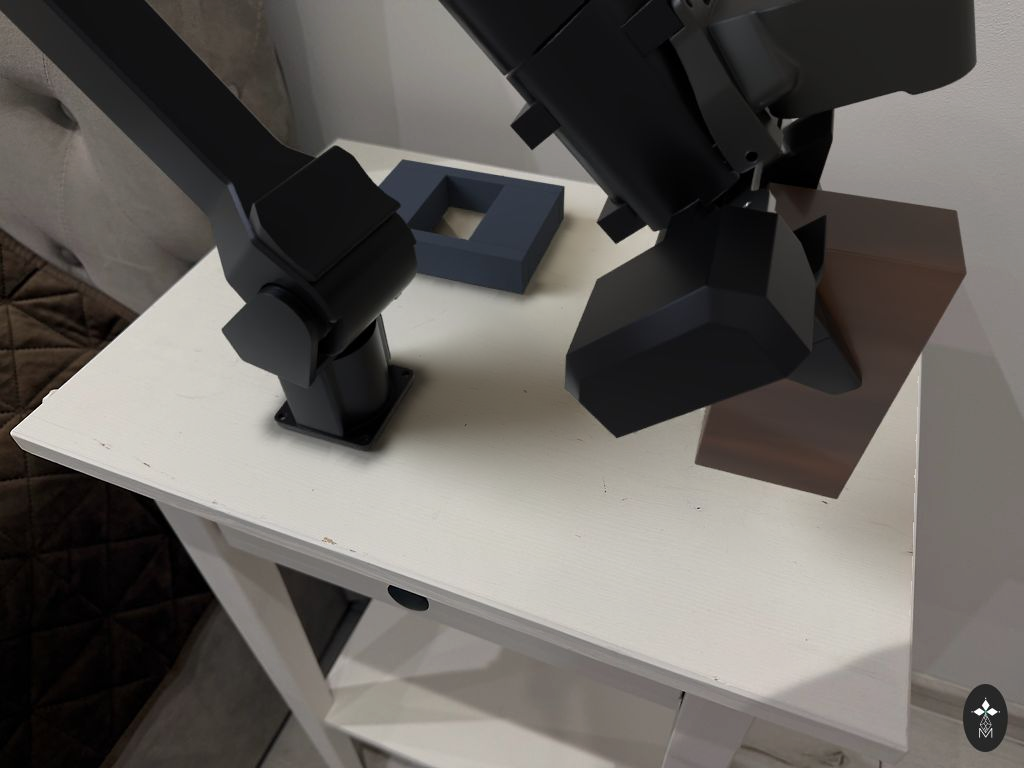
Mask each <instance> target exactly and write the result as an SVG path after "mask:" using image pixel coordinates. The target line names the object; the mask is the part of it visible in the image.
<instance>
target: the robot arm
mask: <svg viewBox="0 0 1024 768" xmlns="http://www.w3.org/2000/svg"><path fill="white" fill-rule="evenodd" d="M437 1H438V2H439V3H440V4H441V6H442V7H443V8H444V9H445V10H446V11H447V12H448V13H449V14H450V16H451V17H452V18H453V20H455V21H456V23H457V24H458V25H459V26H460V27H461V29H463V31H464V32H465V33H466V34H467V36H469V38H470V39H471V40H472V41H473V42H474V44H475V45H476V46H477V47H478V48H479V49H480V50H481V51H482V53H483V54H484V55H485V56H486V57H487V59H489V61H490V62H491V63H492V64H493V65H494V66H495V68H496V69H497V70H498V72H500V74H502V76H504V77H505V76H506V77H505V79H506V80H507V81H508V83H509V84H510V85H511V86H512V87H513V88H514V89H515V91H516V92H517V93H518V94H519V96H520V97H521V98H522V99H523V100H524V101H525V103H524V105H523V106H522V108H521V109H520V111H519V112H518V113H517V115H516V117H515V118H514V119H513V121H512V122H511V123H510V125H509V127H510V128H511V129H512V130H513V132H515V133H516V135H517V136H518V137H519V138H520V139H521V140H522V141H523V143H524V144H525V145H526V146H527V147H528V148H529V149H530V151H534V150H535V149H536V148H537V147H538V146H540V145H541V144H542V143H543V142H545V141H546V140H547V139H548V138H550V136H552V135H554V136H555V137H556V138H557V140H559V142H560V143H561V144H562V145H563V146H564V147H565V148H566V150H567V151H568V152H569V153H570V154H571V155H572V157H574V159H575V160H576V161H577V162H578V163H579V165H580V166H581V167H582V168H583V169H584V170H585V171H586V173H587V174H588V175H589V176H590V177H591V179H592V180H593V181H594V182H595V183H596V184H597V185H598V186H599V187H600V189H601V190H602V191H603V193H604V194H605V195H606V196H607V198H606V200H605V202H604V205H603V207H602V209H601V211H600V213H599V216H598V218H597V220H596V224H597V225H598V226H599V228H600V229H601V230H602V231H603V232H604V234H606V235H607V237H609V239H610V240H611V241H612V242H613V243H614V244H615V245H617V244H619V243H621V242H622V241H624V240H625V239H627V238H629V237H631V236H632V235H634V234H635V233H637V232H638V231H640V230H642V229H643V228H645V227H648V228H649V229H650V230H651V231H652V232H654V233H655V232H656V233H657V232H658V235H657V236H656V240H655V244H654V245H653V246H652V247H650V248H648V249H646V250H644V251H643V252H641V253H639V254H637V255H636V256H634V257H632V258H631V259H629V260H627V261H626V262H624V263H622V264H620V265H619V266H617V267H615V268H613V269H612V270H610V271H608V272H606V273H605V274H602V276H600V277H598V278H596V280H595V283H594V284H593V287H592V290H591V292H590V294H589V298H588V299H587V303H586V304H585V308H584V310H583V312H582V314H581V317H580V319H579V322H578V325H577V327H576V329H575V332H574V335H573V337H572V339H571V342H570V344H569V346H568V349H567V351H566V354H565V363H564V383H563V384H564V387H563V389H564V390H565V391H566V392H567V393H568V394H569V395H570V396H571V397H572V398H573V399H574V400H575V401H576V402H577V403H578V404H580V406H582V407H583V408H584V409H585V410H586V411H587V412H588V414H590V415H591V416H592V417H593V418H594V419H595V420H596V421H597V422H598V423H599V424H600V425H601V426H602V427H604V428H605V429H606V430H607V432H609V433H610V434H611V435H612V436H613V437H614V438H615V439H620V438H622V437H625V436H628V435H630V434H633V433H636V432H639V431H642V430H645V429H647V428H651V427H653V426H656V425H658V424H661V423H665V422H668V421H669V420H673V419H675V418H679V417H681V416H684V415H687V414H690V413H692V412H695V411H698V410H701V409H704V408H706V407H707V406H709V405H712V404H715V403H718V402H721V401H723V400H726V399H729V398H732V397H735V396H737V395H740V394H743V393H746V392H749V391H751V390H754V389H757V388H760V387H763V386H765V385H768V384H771V383H774V382H777V381H780V380H782V379H788V380H791V381H794V382H796V383H799V384H802V385H805V386H808V387H811V388H814V389H816V390H819V391H822V392H825V393H828V394H831V395H839V394H843V393H846V392H849V391H852V390H855V389H858V388H860V387H861V386H862V376H861V374H860V372H859V369H858V367H857V365H856V363H855V361H854V359H853V356H852V354H851V352H850V350H849V348H848V346H847V344H846V342H845V340H844V338H843V337H842V335H841V333H840V331H839V329H838V327H837V325H836V323H835V321H834V320H833V318H832V316H831V314H830V312H829V310H828V308H827V306H826V304H825V303H824V301H823V299H822V297H821V295H820V293H819V291H818V289H817V286H818V285H819V284H820V282H821V280H822V277H823V274H824V271H825V263H826V247H827V230H828V216H827V215H824V216H822V217H820V218H818V219H816V220H814V221H812V222H810V223H808V224H806V225H804V226H802V227H800V228H798V229H796V230H794V231H791V229H790V228H789V227H788V225H787V224H786V223H785V221H784V220H783V219H782V217H781V216H780V215H779V213H777V212H776V211H775V205H776V198H775V197H774V195H773V194H772V193H771V191H770V190H769V189H767V188H766V187H767V184H768V183H770V182H771V183H777V184H784V185H791V186H797V187H804V188H811V189H818V190H823V188H822V185H821V183H820V181H821V179H822V175H823V173H824V170H825V166H826V163H827V160H828V157H829V154H830V152H831V148H832V145H833V142H834V131H835V130H834V128H835V114H836V113H835V110H836V109H840V108H843V107H846V106H850V105H854V104H856V103H862V102H866V101H869V100H873V99H876V98H880V97H883V96H888V95H890V94H891V95H892V94H894V93H898V92H899V93H900V92H904V93H906V94H907V95H911V96H917V95H920V94H925V93H929V92H932V91H935V90H938V89H942V88H944V87H947V86H950V85H951V84H953V83H956V82H958V81H960V80H961V79H963V78H964V77H967V75H968V74H969V73H970V72H971V71H973V69H975V67H976V65H977V62H978V61H977V60H978V57H977V56H978V55H977V38H976V37H977V36H976V15H975V13H976V12H975V11H976V9H975V0H437ZM0 12H1V13H2V14H3V15H4V16H5V17H6V18H7V19H8V20H9V21H10V22H11V23H12V24H13V25H14V26H15V27H16V28H17V29H18V30H19V31H20V32H21V33H22V34H23V35H24V36H26V38H27V39H28V40H30V42H31V43H33V45H34V46H35V47H37V48H38V50H40V52H42V53H43V55H45V57H46V58H48V60H50V61H51V62H52V63H53V64H54V66H56V68H58V69H59V70H60V71H61V72H62V73H63V74H64V76H66V77H67V78H68V80H69V81H71V82H72V83H73V85H75V86H76V87H77V88H78V89H79V90H80V91H81V92H82V93H83V94H84V95H85V96H86V97H87V98H88V99H89V100H90V101H91V102H92V103H93V104H94V105H95V106H96V107H97V108H98V109H99V110H100V111H101V112H102V113H103V114H104V115H105V116H106V117H107V118H108V120H110V121H111V122H112V123H113V124H114V125H115V126H116V127H117V128H118V129H119V130H120V131H121V132H122V133H123V134H124V135H125V136H126V137H127V138H128V139H129V140H130V141H131V142H132V143H133V144H134V145H135V146H136V147H137V148H138V149H139V150H140V151H141V152H142V153H143V154H144V155H145V156H146V157H148V158H149V160H151V161H152V163H154V165H155V166H157V167H158V169H159V170H161V171H162V173H164V174H165V175H166V177H168V178H169V179H170V180H171V181H172V182H173V184H175V185H176V186H177V188H178V189H180V191H182V193H183V194H184V195H186V197H188V198H189V199H190V200H191V201H192V202H193V203H194V204H195V205H196V206H197V207H198V208H199V209H200V210H201V212H202V213H203V214H204V215H205V216H206V217H207V219H208V220H209V223H210V226H211V231H212V233H213V234H212V235H213V238H214V241H215V246H216V249H217V253H218V257H219V260H220V264H221V268H222V271H223V275H224V279H225V281H226V283H228V285H229V286H230V287H231V288H232V289H233V291H235V293H236V294H237V295H238V296H239V297H240V298H241V300H242V301H243V302H244V303H245V304H244V305H243V306H242V307H241V308H240V309H239V310H237V312H236V313H235V314H234V315H233V316H232V317H231V318H230V319H229V320H228V321H227V322H226V324H224V325H223V326H222V327H221V333H222V335H223V336H224V337H225V339H226V340H227V342H228V343H229V344H230V346H231V348H233V350H234V351H235V353H236V354H237V356H238V357H239V358H240V359H241V361H242V362H244V363H246V364H249V365H251V366H253V367H256V368H258V369H261V370H263V371H265V372H267V373H269V374H272V375H274V376H277V379H278V381H279V383H280V386H281V388H282V391H283V393H284V396H285V398H286V400H284V402H283V404H282V405H281V406H280V407H279V409H278V410H277V411H276V413H275V414H274V421H275V424H276V425H277V426H278V427H280V428H284V429H288V430H291V431H294V432H298V433H301V434H304V435H308V436H312V437H315V438H318V439H322V440H326V441H328V442H333V443H336V444H339V445H343V446H347V447H350V448H353V449H357V450H360V451H368V450H370V449H371V448H372V447H373V446H374V445H375V443H376V442H377V440H378V438H379V436H380V435H381V433H382V432H383V431H384V428H385V427H386V425H387V424H388V422H389V421H390V419H391V417H392V416H393V414H394V413H395V411H396V409H397V407H398V406H399V404H400V403H401V401H402V400H403V398H404V396H406V393H407V392H408V390H409V389H410V387H411V385H412V384H413V382H414V380H415V375H414V371H413V370H412V369H411V368H408V367H404V366H400V365H396V364H392V362H391V360H392V355H391V350H390V346H389V341H388V338H387V332H386V329H385V324H384V319H383V315H382V313H383V312H384V310H386V308H388V307H389V306H390V304H392V303H393V302H394V301H396V300H397V299H398V298H399V297H400V296H401V295H402V294H403V291H405V290H406V288H408V286H410V285H411V283H412V282H413V280H414V279H415V277H416V276H417V272H416V271H417V264H418V263H417V258H416V252H415V248H414V247H415V246H416V244H417V242H416V239H415V237H414V235H413V233H412V231H411V229H410V227H409V226H408V225H407V223H406V222H405V221H404V219H403V218H402V217H401V216H400V215H399V214H398V213H397V212H396V211H397V210H398V209H399V208H400V207H401V204H400V203H399V202H398V201H397V200H395V199H394V198H392V197H391V196H389V195H387V194H386V193H385V192H384V191H383V190H381V189H380V188H379V187H378V186H379V185H377V184H376V183H375V182H374V180H373V179H372V177H370V176H369V174H368V173H367V172H366V170H365V169H364V168H363V167H362V165H361V164H360V163H359V161H358V159H357V158H356V157H355V155H354V154H352V153H350V152H349V151H347V150H346V149H345V148H343V147H341V146H339V145H333V146H331V147H329V148H328V149H326V150H325V151H324V152H322V153H321V154H319V155H318V156H314V155H312V154H309V153H306V152H303V151H301V150H297V149H295V148H292V147H290V146H287V145H286V144H284V143H282V142H281V141H280V140H279V139H278V138H277V137H276V136H275V135H274V134H273V133H272V132H271V131H270V130H269V128H268V127H266V126H265V124H264V123H262V121H261V120H260V119H259V118H258V117H257V116H256V115H255V114H254V113H253V112H252V111H251V110H250V109H249V107H248V106H247V105H246V104H245V103H244V102H243V101H242V100H241V99H240V98H239V97H238V96H237V95H236V94H235V92H234V91H232V89H230V87H229V86H228V85H227V84H226V83H225V82H224V81H223V80H222V79H221V78H220V77H219V76H218V75H217V74H216V73H215V71H213V69H212V68H211V67H210V66H209V65H208V64H207V63H206V62H205V60H203V59H202V58H201V56H199V54H198V53H197V52H195V50H194V49H193V48H192V46H190V45H189V44H188V43H187V42H186V41H185V40H184V39H183V38H182V36H181V35H180V34H179V33H178V32H177V31H176V29H174V28H173V27H172V26H171V25H170V24H169V23H168V22H167V20H166V19H165V18H163V16H162V15H161V14H160V13H159V12H158V11H157V10H156V9H155V8H154V7H153V6H152V5H151V3H150V2H149V1H148V0H0Z"/></svg>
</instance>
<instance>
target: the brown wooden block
mask: <svg viewBox="0 0 1024 768" xmlns="http://www.w3.org/2000/svg"><path fill="white" fill-rule="evenodd" d="M766 188H767V189H769V190H770V191H771V193H772V194H773V195H774V197H775V198H776V205H775V211H776V212H777V213H779V215H780V216H781V217H782V219H783V220H784V221H785V223H786V224H787V225H788V227H789V228H790V229H791V231H794V230H796V229H798V228H800V227H802V226H804V225H806V224H808V223H810V222H812V221H814V220H816V219H818V218H820V217H822V216H824V215H827V216H828V230H827V247H826V263H825V271H824V274H823V277H822V280H821V282H820V284H819V285H818V286H817V289H818V291H819V293H820V295H821V297H822V299H823V301H824V303H825V304H826V306H827V308H828V310H829V312H830V314H831V316H832V318H833V320H834V321H835V323H836V325H837V327H838V329H839V331H840V333H841V335H842V337H843V338H844V340H845V342H846V344H847V346H848V348H849V350H850V352H851V354H852V356H853V359H854V361H855V363H856V365H857V367H858V369H859V372H860V374H861V376H862V386H861V387H860V388H858V389H855V390H852V391H849V392H846V393H843V394H839V395H831V394H828V393H825V392H822V391H819V390H816V389H814V388H811V387H808V386H805V385H802V384H799V383H796V382H794V381H791V380H788V379H782V380H780V381H777V382H774V383H771V384H768V385H765V386H763V387H760V388H757V389H754V390H751V391H749V392H746V393H743V394H740V395H737V396H735V397H732V398H729V399H726V400H723V401H721V402H718V403H715V404H712V405H709V406H707V407H704V408H705V409H704V413H703V419H702V423H701V427H700V433H699V437H698V443H697V446H696V447H697V448H696V451H695V457H694V461H693V463H694V465H696V466H699V467H700V466H701V467H703V468H704V467H705V468H708V469H712V470H715V471H719V472H724V473H728V474H732V475H736V476H741V477H744V478H748V479H751V480H752V479H753V480H757V481H760V482H764V483H768V484H773V485H776V486H780V487H784V488H788V489H793V490H796V491H801V492H804V493H808V494H812V495H816V496H820V497H824V498H829V499H832V500H838V499H839V497H840V495H841V494H842V492H843V490H844V489H845V487H846V485H847V484H848V481H849V480H850V478H851V476H852V475H853V472H854V471H855V469H856V468H857V466H858V465H859V462H860V461H861V459H862V457H863V456H864V454H865V452H866V450H867V448H868V447H869V445H870V443H871V442H872V440H873V438H874V436H875V434H877V433H876V432H877V431H878V429H879V427H880V426H881V424H882V422H883V420H884V419H885V417H886V415H887V414H888V412H889V409H891V407H892V405H893V403H894V401H895V400H896V398H897V397H898V394H899V393H900V391H901V390H902V387H903V385H904V384H905V383H906V380H907V379H908V377H909V375H910V373H911V372H912V370H913V368H914V366H915V365H916V363H917V361H918V360H919V358H920V356H921V355H922V352H923V351H924V349H925V347H926V346H927V344H928V342H929V341H930V339H931V337H932V335H933V334H934V332H935V330H936V328H937V327H938V324H939V323H940V321H941V320H942V318H943V316H944V314H945V313H946V311H947V309H948V307H949V305H950V304H951V302H952V300H953V299H954V297H955V295H956V294H957V292H958V290H959V289H960V287H961V285H962V283H963V282H964V279H965V278H966V276H967V273H968V271H967V265H966V264H967V263H966V259H965V258H966V257H965V253H964V245H963V239H962V233H961V227H960V220H959V215H958V213H959V212H958V211H957V210H956V209H952V208H951V209H950V208H945V207H937V206H930V205H925V204H924V205H923V204H918V203H910V202H904V201H898V200H891V199H884V198H879V197H878V198H877V197H870V196H865V195H857V194H850V193H843V192H839V191H838V192H836V191H830V190H825V189H824V190H823V189H822V190H818V189H811V188H804V187H797V186H791V185H784V184H777V183H771V182H770V183H768V184H767V187H766Z"/></svg>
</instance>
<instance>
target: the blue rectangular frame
mask: <svg viewBox="0 0 1024 768" xmlns="http://www.w3.org/2000/svg"><path fill="white" fill-rule="evenodd" d="M377 186H378V187H379V188H380V189H381V190H383V191H384V192H385V193H386V194H387V195H389V196H391V197H392V198H394V199H395V200H397V201H398V202H399V203H400V204H401V207H400V208H399V209H398V210H397V211H396V212H397V213H398V214H399V215H400V216H401V217H402V218H403V219H404V221H405V222H406V223H407V225H408V226H409V227H410V229H411V231H412V233H413V235H414V237H415V239H416V242H417V244H416V246H415V247H414V248H415V252H416V258H417V263H418V264H417V271H416V273H419V274H422V275H423V274H424V275H428V276H433V277H438V278H442V279H447V280H452V281H456V282H462V283H467V284H471V285H475V286H479V287H484V288H485V287H486V288H490V289H495V290H500V291H505V292H509V293H514V294H519V295H524V293H525V291H526V290H527V288H528V286H529V284H530V282H531V281H532V278H533V276H534V275H535V273H536V271H537V269H538V267H539V265H540V263H541V262H542V260H543V258H544V257H545V254H546V252H547V250H548V248H549V247H550V245H551V243H552V241H553V240H554V237H555V236H556V234H557V233H558V230H559V228H560V226H561V225H562V223H563V221H564V219H565V190H566V188H565V187H566V186H565V185H562V184H561V185H560V184H555V183H548V182H542V181H536V180H531V179H524V178H518V177H512V176H505V175H502V174H501V175H499V174H493V173H489V172H488V173H487V172H483V171H476V170H471V169H470V170H469V169H466V168H465V169H464V168H458V167H453V166H452V167H451V166H446V165H441V164H440V165H439V164H434V163H427V162H423V161H415V160H409V159H405V158H404V159H403V158H401V160H400V161H399V162H398V164H397V165H395V167H394V168H393V169H392V170H391V171H390V172H389V174H387V176H386V177H385V178H384V179H383V180H382V181H381V183H379V184H378V185H377ZM449 208H454V209H460V210H465V211H471V212H476V213H480V214H481V213H482V214H484V216H483V217H482V219H481V221H480V222H479V223H478V224H477V226H476V228H475V229H474V231H473V232H472V233H471V235H470V237H469V238H468V239H466V238H460V237H455V236H450V235H445V234H441V233H435V232H433V230H434V229H435V227H436V226H437V224H438V223H439V222H440V221H441V219H442V218H443V217H444V215H445V214H446V213H447V211H448V210H449Z"/></svg>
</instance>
